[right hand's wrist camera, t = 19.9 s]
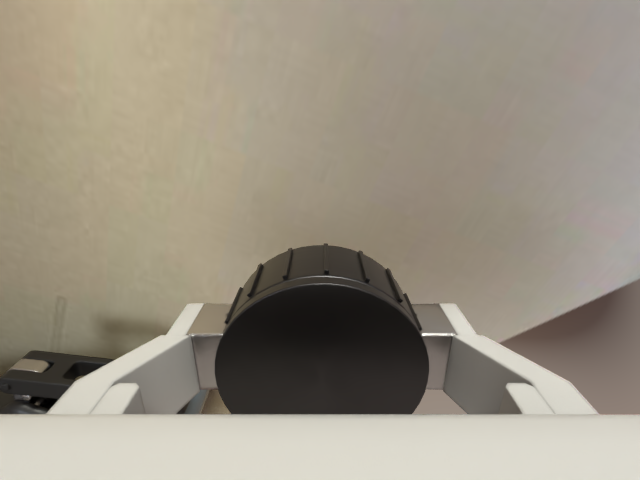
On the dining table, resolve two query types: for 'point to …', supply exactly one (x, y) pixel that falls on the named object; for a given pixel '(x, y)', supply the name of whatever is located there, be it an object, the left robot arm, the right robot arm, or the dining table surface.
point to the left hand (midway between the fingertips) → (195, 428)
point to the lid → (321, 339)
